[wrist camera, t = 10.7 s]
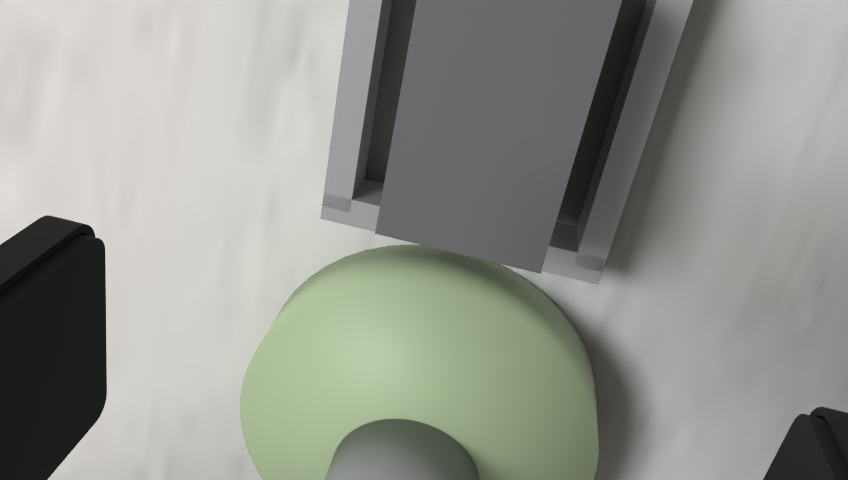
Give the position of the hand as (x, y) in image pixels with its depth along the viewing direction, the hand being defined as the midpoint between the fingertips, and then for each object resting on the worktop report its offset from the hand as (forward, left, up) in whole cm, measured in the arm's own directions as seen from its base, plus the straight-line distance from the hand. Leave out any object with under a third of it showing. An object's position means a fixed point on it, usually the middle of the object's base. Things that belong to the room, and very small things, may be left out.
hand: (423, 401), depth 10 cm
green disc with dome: (0, +8, -18) cm, 19 cm away
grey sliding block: (0, 0, -18) cm, 18 cm away
